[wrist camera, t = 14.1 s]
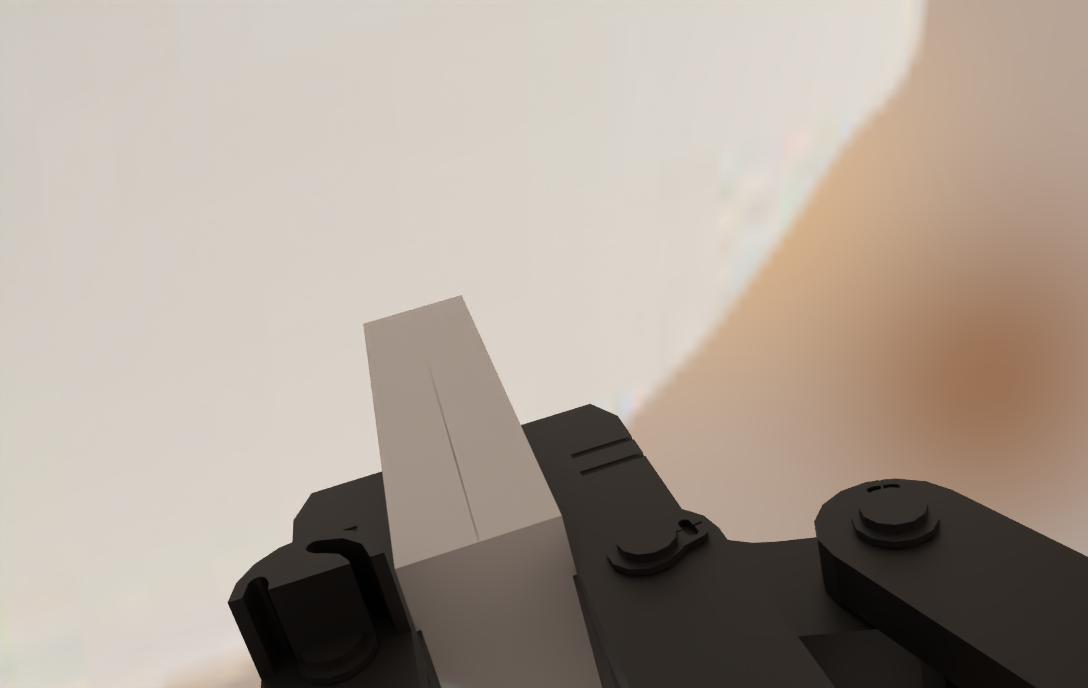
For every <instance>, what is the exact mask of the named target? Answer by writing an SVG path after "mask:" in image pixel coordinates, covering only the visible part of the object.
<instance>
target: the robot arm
mask: <svg viewBox="0 0 1088 688" xmlns="http://www.w3.org/2000/svg"><path fill="white" fill-rule="evenodd" d="M364 332H365V340H366V348H367V356H368V364H369V371H370V379H371V387H372V395H373V403H374V411H375V418H376V426H377V434H378V442H379V450H380V458H381V465H382V472H379V473H376V474H372V475H369V476H366V477H363V478H360V479H356V480H353V481H350V482H347V483H343V484H340V485H337V486H334V487H331V488H327V489H324V490H321V491H318V492H314V493H312V494H311V495H310V497H309V498H308V500H307V501H306V503H305V504H304V506H303V507H302V509H301V510H300V512H299V513H298V515H297V516H296V518H295V519H294V522H293V542H292V543H290V544H287V545H285V546H283V547H280V548H278V549H277V550H275V551H274V552H272V553H271V554H269V555H268V556H266V557H265V558H263V559H262V560H260V561H259V562H257V563H256V564H254V565H253V566H252V567H251V568H250V569H249V570H248V572H247V573H246V574H245V575H244V576H243V577H242V578H241V579H240V580H239V581H238V582H237V583H236V585H235V587H234V589H233V592H232V594H231V596H230V599H229V601H228V605H229V607H230V609H231V611H232V614H233V616H234V618H235V621H236V623H237V625H238V627H239V630H240V632H241V634H242V637H243V639H244V641H245V643H246V646H247V648H248V650H249V653H250V655H251V657H252V660H253V662H254V664H255V666H256V669H257V671H258V673H259V676H260V678H261V688H1088V557H1087V556H1085V555H1083V554H1081V553H1079V552H1077V551H1075V550H1073V549H1071V548H1069V547H1067V546H1065V545H1063V544H1061V543H1059V542H1056V541H1054V540H1052V539H1050V538H1048V537H1046V536H1044V535H1042V534H1040V533H1038V532H1036V531H1034V530H1032V529H1030V528H1028V527H1026V526H1024V525H1022V524H1020V523H1018V522H1016V521H1014V520H1012V519H1010V518H1008V517H1006V516H1004V515H1001V514H1000V513H998V512H996V511H994V510H992V509H990V508H987V507H986V506H984V505H982V504H979V503H977V502H975V501H973V500H971V499H969V498H967V497H965V496H963V495H961V494H959V493H957V492H955V491H953V490H951V489H947V488H944V487H941V486H938V485H935V484H932V483H929V482H926V481H917V480H905V479H885V480H881V481H878V480H877V481H872V482H865V483H862V484H860V485H857V486H854V487H851V488H848V489H846V490H843V491H841V492H839V493H838V494H836V495H835V496H834V497H833V498H831V499H830V500H828V501H827V502H826V503H824V504H823V505H822V507H821V509H820V511H819V513H818V515H817V517H816V520H815V521H814V523H815V530H816V536H817V537H815V538H806V539H797V540H789V541H779V542H763V543H762V542H761V543H748V542H740V541H731V540H727V538H726V537H725V536H724V534H723V533H722V532H721V530H720V529H719V528H718V527H717V526H716V525H715V524H713V523H712V522H711V521H710V520H708V519H707V518H706V517H705V516H703V515H700V514H697V513H693V512H690V511H687V510H683V509H681V507H680V506H679V504H678V503H677V501H676V500H675V498H674V497H673V496H672V494H671V493H670V491H669V490H668V489H667V487H666V485H665V484H664V482H663V481H662V480H661V478H660V477H659V475H658V474H657V472H656V471H655V469H654V468H653V467H652V465H651V464H650V462H649V461H648V459H647V458H646V456H644V455H643V452H642V451H641V449H640V448H639V446H638V445H637V443H636V442H635V440H632V437H631V435H630V433H629V432H628V430H627V429H626V427H625V426H624V424H623V423H622V422H621V420H620V419H619V417H618V416H617V415H614V414H612V413H610V412H607V411H605V410H603V409H601V408H598V407H596V406H594V405H591V404H588V405H585V406H582V407H578V408H575V409H572V410H569V411H565V412H562V413H559V414H556V415H553V416H549V417H546V418H543V419H540V420H536V421H533V422H530V423H527V424H523V425H520V423H519V421H518V418H517V416H516V414H515V412H514V410H513V407H512V405H511V403H510V401H509V399H508V396H507V394H506V392H505V390H504V388H503V385H502V383H501V381H500V379H499V377H498V374H497V372H496V370H495V368H494V366H493V363H492V361H491V359H490V357H489V355H488V353H487V350H486V348H485V346H484V344H483V342H482V339H481V337H480V335H479V333H478V331H477V328H476V326H475V324H474V322H473V320H472V317H471V315H470V313H469V311H468V309H467V306H466V304H465V302H464V300H463V298H462V295H461V296H457V297H454V298H451V299H447V300H444V301H440V302H437V303H433V304H430V305H427V306H423V307H420V308H416V309H413V310H409V311H406V312H403V313H399V314H396V315H392V316H389V317H386V318H382V319H379V320H375V321H372V322H368V323H365V324H364Z"/></svg>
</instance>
